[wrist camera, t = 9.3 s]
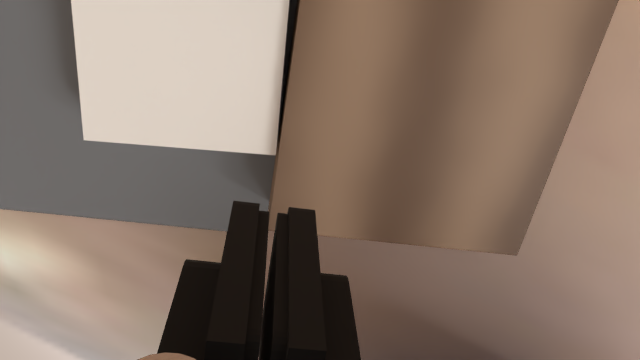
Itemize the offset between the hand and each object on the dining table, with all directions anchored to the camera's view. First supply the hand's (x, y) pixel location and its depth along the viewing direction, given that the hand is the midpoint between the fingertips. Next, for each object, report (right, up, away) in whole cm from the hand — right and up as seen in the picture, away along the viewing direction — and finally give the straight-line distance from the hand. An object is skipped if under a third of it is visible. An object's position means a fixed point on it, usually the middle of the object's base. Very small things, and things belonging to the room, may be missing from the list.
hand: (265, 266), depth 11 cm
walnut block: (+6, +6, +14) cm, 16 cm away
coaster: (-4, +8, +12) cm, 15 cm away
